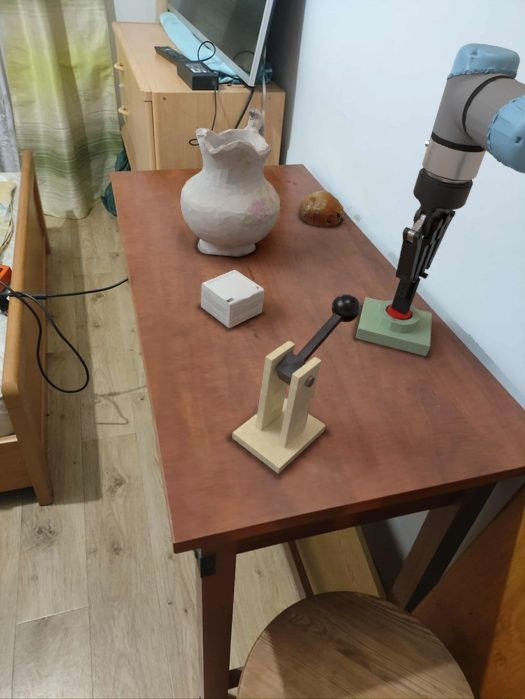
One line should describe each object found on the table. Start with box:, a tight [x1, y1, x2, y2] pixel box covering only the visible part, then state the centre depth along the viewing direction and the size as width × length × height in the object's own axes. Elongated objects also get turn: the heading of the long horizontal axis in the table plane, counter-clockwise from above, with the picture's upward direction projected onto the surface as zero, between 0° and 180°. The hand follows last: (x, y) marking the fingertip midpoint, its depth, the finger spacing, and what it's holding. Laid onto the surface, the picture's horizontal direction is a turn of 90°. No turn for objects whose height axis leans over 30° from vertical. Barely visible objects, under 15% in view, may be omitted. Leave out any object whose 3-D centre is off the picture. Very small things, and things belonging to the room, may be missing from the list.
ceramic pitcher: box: [179, 106, 281, 257], centre depth 99 cm, size 22×20×25 cm
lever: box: [276, 293, 361, 386], centre depth 63 cm, size 14×4×4 cm, turn 139°
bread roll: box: [298, 190, 346, 228], centre depth 118 cm, size 10×10×8 cm
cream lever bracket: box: [232, 340, 326, 474], centre depth 64 cm, size 10×8×14 cm
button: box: [387, 305, 411, 320], centre depth 87 cm, size 4×4×2 cm
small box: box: [200, 269, 266, 329], centre depth 87 cm, size 8×8×5 cm
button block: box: [355, 296, 433, 357], centre depth 88 cm, size 12×10×4 cm
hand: (399, 309), depth 86 cm, fingers closed
